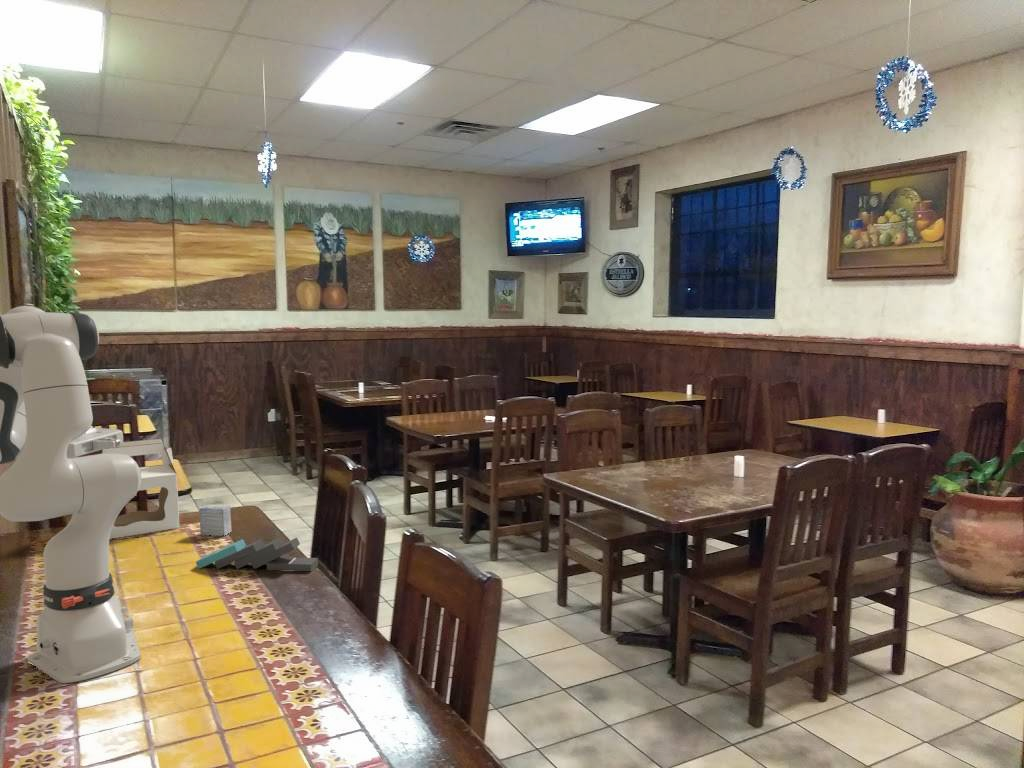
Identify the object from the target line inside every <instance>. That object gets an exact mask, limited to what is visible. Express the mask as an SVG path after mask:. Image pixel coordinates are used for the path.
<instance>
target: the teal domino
mask: <svg viewBox="0 0 1024 768" xmlns="http://www.w3.org/2000/svg"><path fill="white" fill-rule="evenodd" d="M245 546H247V545H246V542H245V540H244V539H243V538H241V539H240V540H238V541H236V542H233V543H231V544H229V545H226V546H224V547H221V548H220V549H217V550H214V551H212V552H211V553H208V554H206V555H204V556H202V557H201V558H199V559H198V560H196V561H195V564H196V567H197V569H202V568H204V567H206V566H209V565H211V564H213V563H214V562H216V561H218V560H220V559H222V558H225V557H227V556H229V555H232V554H234V553H236V552H238V551H239V550H241V549H242V548H244V547H245Z"/></svg>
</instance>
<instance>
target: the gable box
mask: <svg viewBox="0 0 1024 768" xmlns="http://www.w3.org/2000/svg"><path fill="white" fill-rule="evenodd" d="M100 454H126V455H129V456H130V457H137V456H144V455H145V456H146V455H158V454H160V455H161V457H162V464H157V465H155V464H154V465H147V466H141V467H140V466H139V468H140V471H141V485H140V488H139V490H138V491H147V490H150V489H151V490H152V489H154V488H155V489H156V488H160V491H159V493H158V497H157V501H158V509H156V510H155V511H146V510H135V511H130V512H127V513H125V514H121V515H118V516H117V518H116V520H115V522H114V524H113V527H112V530H111V533H110V538H109V540H113V539H112V538H114V539H119V537H120V538H125V536H126V537H132V536H138V534H139V535H143V534H145V535H146V534H151V533H157V532H162V531H163V530H164V531H169V529H170V530H175V529H180V513H179V511H180V510H179V493H178V491H179V490H178V476H177V475H178V473H177V472H176V469H175V468H174V463H175V462H174V458H173V451H172V447H167V448H166V447H165V446H164V442H163V440H162V439H161V438H153V439H152V438H151V439H144V440H143V439H142V440H131V441H123V443H122V444H121V446H119V447H115V448H106V449H102V450H101V453H100ZM156 531H157V532H156ZM164 531H163V532H164ZM150 532H151V533H150Z"/></svg>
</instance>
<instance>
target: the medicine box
mask: <svg viewBox="0 0 1024 768" xmlns="http://www.w3.org/2000/svg"><path fill="white" fill-rule="evenodd" d="M198 510H199V511H198V512H199V513H198V514H199V530H200V533H199V534H200V536H202V537H203V536H205V535H206V537H207V536H209V535H211V536H212V537H226V536H227V534H228V533H229V534H230V532H231V533H232V520H231V518H232V517H231V505H229V504H227V505H225V504H206V505H203V506H202V507H200V508H199V509H198ZM229 534H228V535H229ZM223 535H224V536H223ZM225 535H226V536H225ZM211 536H209V537H211Z"/></svg>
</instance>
